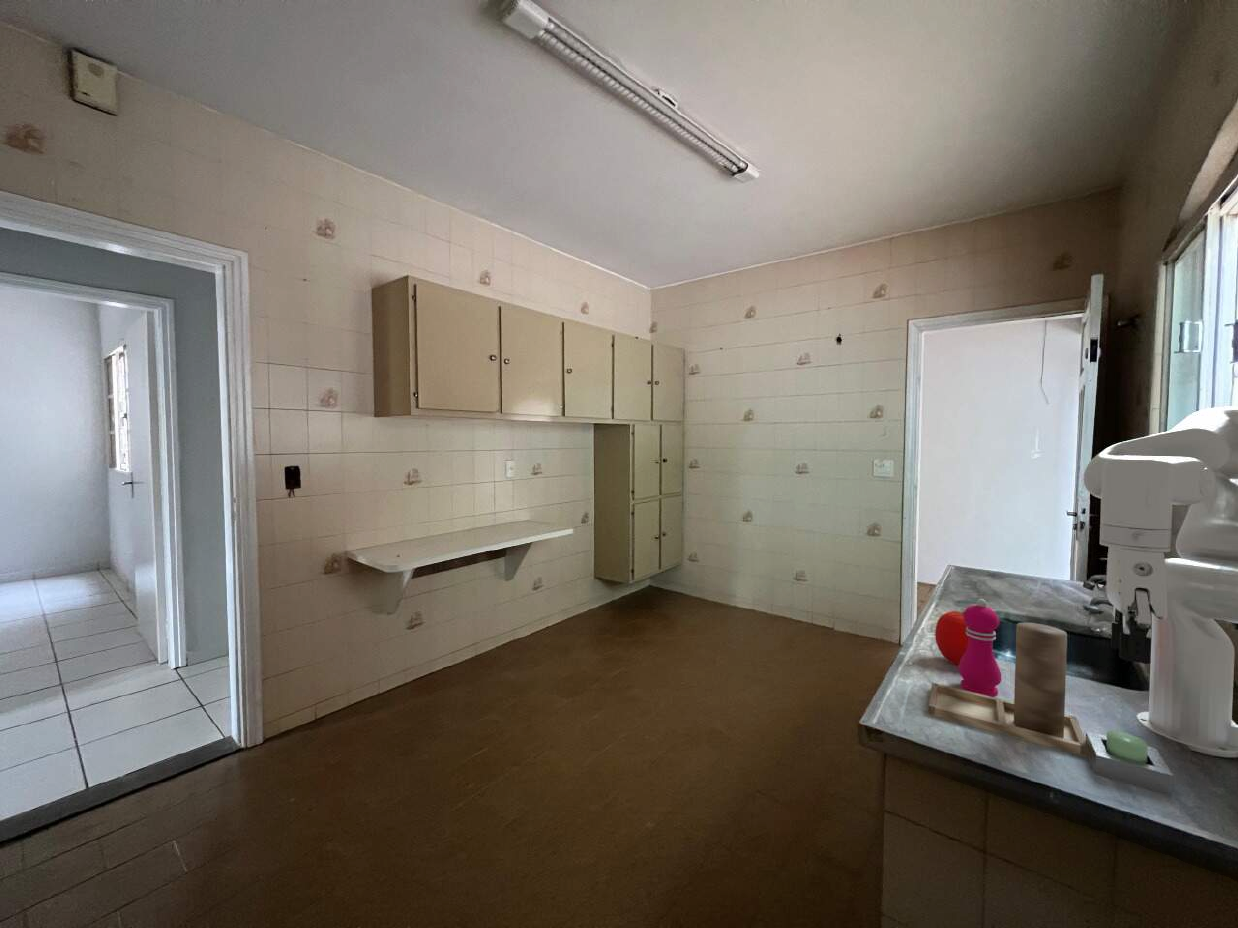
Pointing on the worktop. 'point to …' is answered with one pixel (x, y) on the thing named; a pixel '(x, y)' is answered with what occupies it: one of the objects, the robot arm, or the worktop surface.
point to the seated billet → (1040, 678)
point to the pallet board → (1000, 718)
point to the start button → (1126, 746)
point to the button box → (1130, 767)
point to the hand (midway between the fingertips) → (1129, 654)
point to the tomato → (952, 636)
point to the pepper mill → (980, 651)
